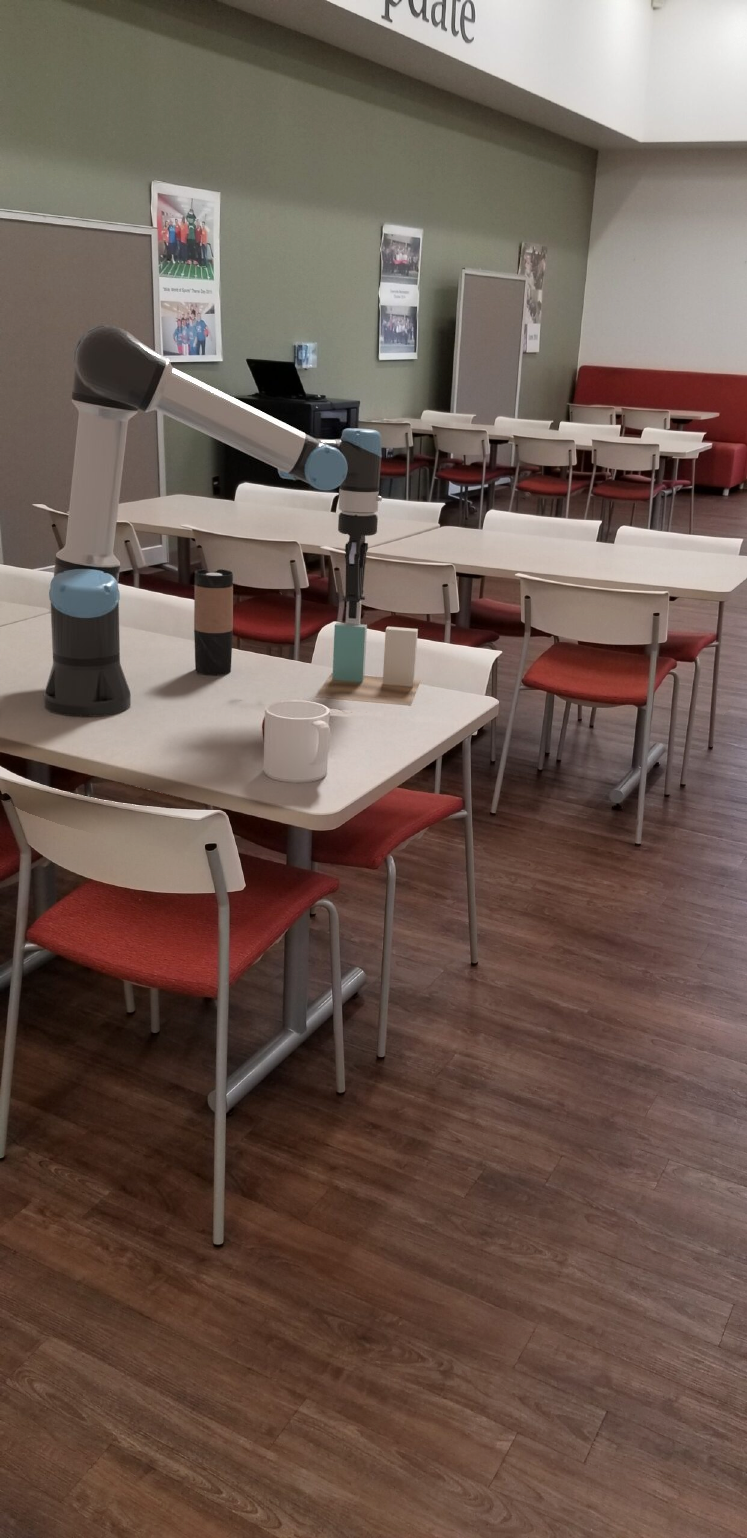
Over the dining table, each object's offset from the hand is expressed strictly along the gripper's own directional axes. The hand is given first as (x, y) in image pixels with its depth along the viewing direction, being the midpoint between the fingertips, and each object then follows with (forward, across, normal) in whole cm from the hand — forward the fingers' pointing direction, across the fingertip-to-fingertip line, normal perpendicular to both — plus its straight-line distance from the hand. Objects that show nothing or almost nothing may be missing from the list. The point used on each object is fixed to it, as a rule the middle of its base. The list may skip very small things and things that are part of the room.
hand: (352, 633), depth 236 cm
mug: (+10, -56, -1) cm, 57 cm away
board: (+10, -8, -5) cm, 14 cm away
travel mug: (+10, -1, +28) cm, 30 cm away
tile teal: (+9, -4, 0) cm, 9 cm away
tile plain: (+9, -4, -10) cm, 14 cm away
